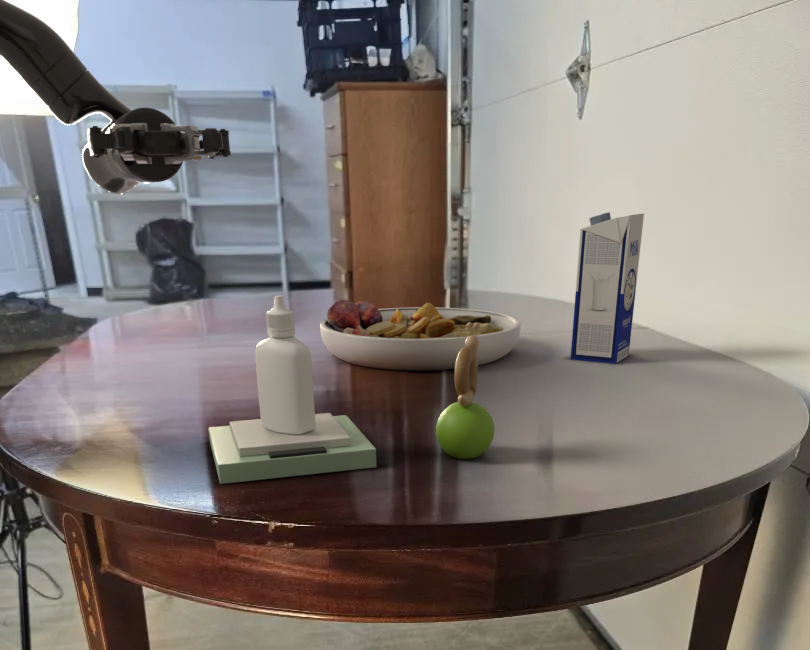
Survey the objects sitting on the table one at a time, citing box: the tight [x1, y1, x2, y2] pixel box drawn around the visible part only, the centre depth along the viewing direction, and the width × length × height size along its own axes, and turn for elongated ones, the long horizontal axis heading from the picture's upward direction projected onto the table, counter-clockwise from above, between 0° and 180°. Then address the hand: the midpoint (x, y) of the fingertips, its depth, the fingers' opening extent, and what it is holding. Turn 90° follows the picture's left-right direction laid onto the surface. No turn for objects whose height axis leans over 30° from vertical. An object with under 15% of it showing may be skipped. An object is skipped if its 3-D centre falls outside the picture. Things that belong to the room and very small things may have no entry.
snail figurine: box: [435, 322, 495, 460], centre depth 71 cm, size 5×6×12 cm
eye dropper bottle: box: [254, 295, 316, 435], centre depth 70 cm, size 4×6×12 cm
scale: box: [208, 412, 377, 485], centre depth 73 cm, size 14×12×3 cm
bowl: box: [319, 299, 522, 372], centre depth 117 cm, size 30×30×8 cm
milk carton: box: [570, 211, 645, 365], centre depth 110 cm, size 7×7×20 cm
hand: (172, 139), depth 77 cm, fingers open, 8 cm apart
